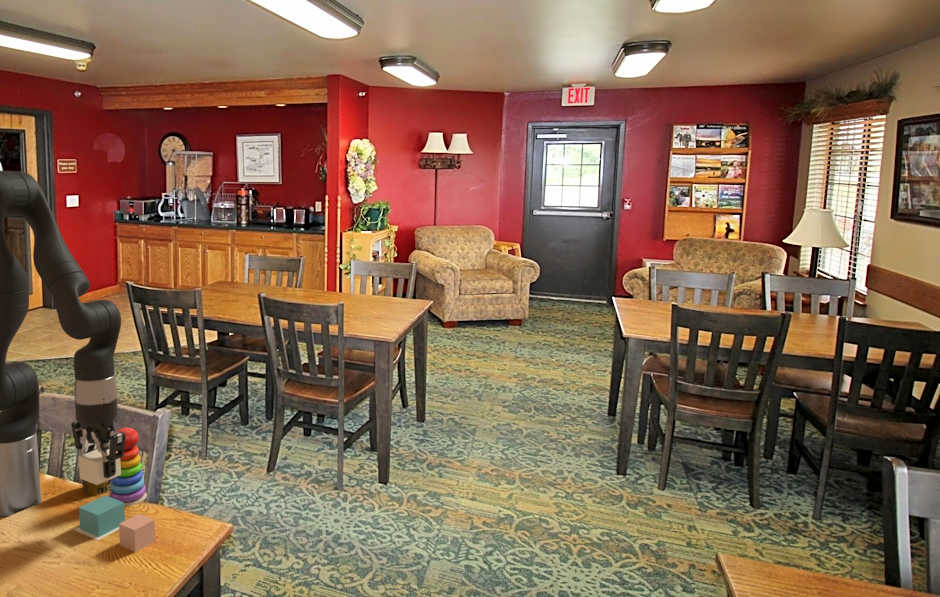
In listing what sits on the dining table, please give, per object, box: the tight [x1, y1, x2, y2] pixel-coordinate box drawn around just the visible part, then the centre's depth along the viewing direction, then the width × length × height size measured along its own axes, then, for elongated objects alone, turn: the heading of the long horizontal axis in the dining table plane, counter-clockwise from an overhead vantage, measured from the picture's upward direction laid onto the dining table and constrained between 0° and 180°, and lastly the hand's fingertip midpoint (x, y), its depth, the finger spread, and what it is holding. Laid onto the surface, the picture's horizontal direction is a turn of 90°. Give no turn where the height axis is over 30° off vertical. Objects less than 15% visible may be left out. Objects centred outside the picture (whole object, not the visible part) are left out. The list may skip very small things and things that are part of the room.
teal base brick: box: [78, 495, 126, 537], centre depth 135 cm, size 6×6×5 cm
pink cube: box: [118, 513, 156, 553], centre depth 130 cm, size 5×5×5 cm
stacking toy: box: [109, 427, 148, 508], centre depth 146 cm, size 8×8×19 cm
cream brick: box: [78, 449, 121, 485], centre depth 133 cm, size 5×5×5 cm
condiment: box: [81, 443, 112, 496], centre depth 149 cm, size 7×8×12 cm
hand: (100, 472), depth 133 cm, fingers closed on cream brick, 5 cm apart
